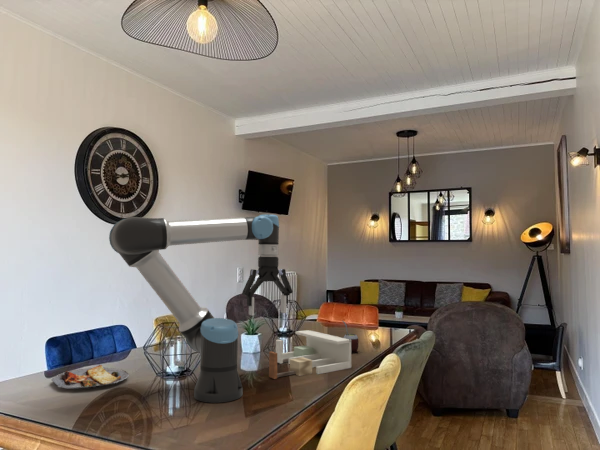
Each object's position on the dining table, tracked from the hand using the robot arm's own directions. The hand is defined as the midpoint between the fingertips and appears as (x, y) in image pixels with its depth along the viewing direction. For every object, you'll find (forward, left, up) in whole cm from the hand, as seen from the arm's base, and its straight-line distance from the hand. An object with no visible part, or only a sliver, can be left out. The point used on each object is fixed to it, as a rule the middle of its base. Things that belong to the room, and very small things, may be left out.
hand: (267, 314), depth 171 cm
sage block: (+23, +15, -23) cm, 36 cm away
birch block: (+8, -3, -23) cm, 24 cm away
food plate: (-54, +30, -23) cm, 66 cm away
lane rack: (+26, +6, -23) cm, 35 cm away
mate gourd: (+53, +13, -23) cm, 59 cm away
